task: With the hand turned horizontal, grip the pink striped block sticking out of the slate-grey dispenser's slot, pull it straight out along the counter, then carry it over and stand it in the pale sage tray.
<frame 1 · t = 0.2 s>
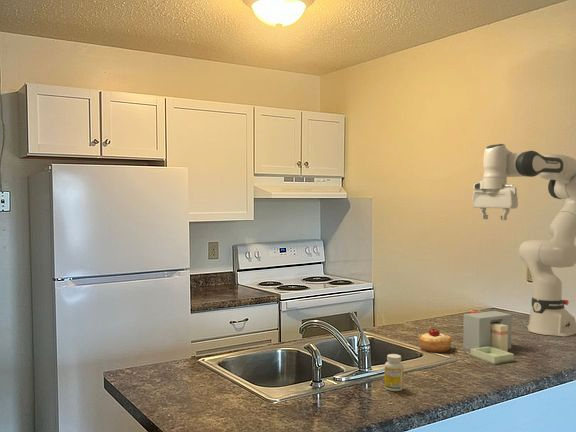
hand: (494, 219, 215), 48 cm above the worktop, tool pointing down, fingers open, 8 cm apart
pink striped block: (497, 351, 198), on the worktop
pill bottle: (475, 338, 218), on the worktop
pastry: (434, 349, 201), on the worktop
supplement bottle: (393, 389, 158), on the worktop
dispenser: (487, 348, 203), on the worktop
tray: (491, 358, 189), on the worktop
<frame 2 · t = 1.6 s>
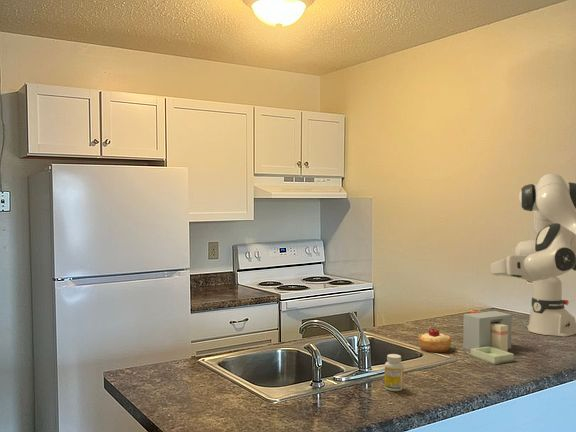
hand: (507, 274, 191), 29 cm above the worktop, tool tilted 75°, fingers open, 8 cm apart
nothing on the worktop moved.
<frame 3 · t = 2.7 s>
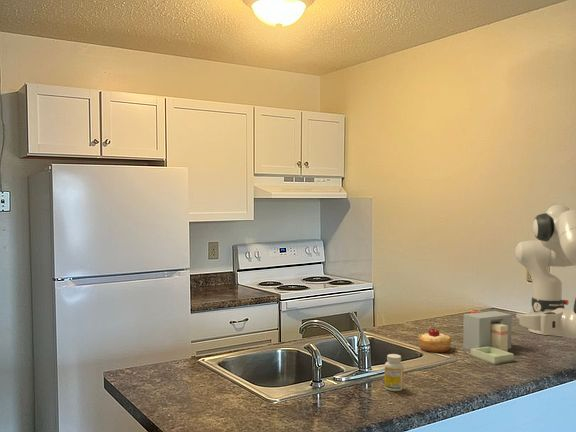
hand: (527, 314, 186), 16 cm above the worktop, tool horizontal, fingers open, 8 cm apart
nothing on the worktop moved.
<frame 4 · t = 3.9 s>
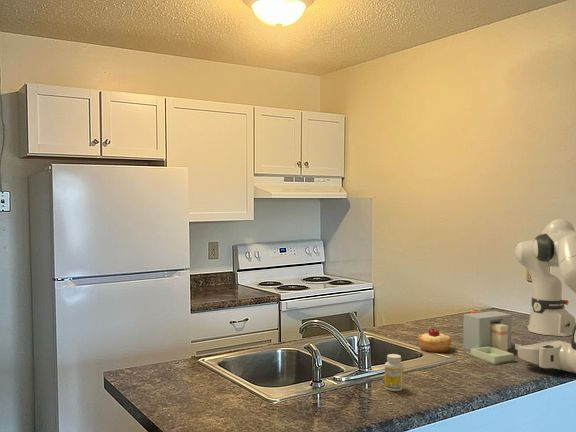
hand: (526, 344, 187), 5 cm above the worktop, tool horizontal, fingers open, 8 cm apart
nothing on the worktop moved.
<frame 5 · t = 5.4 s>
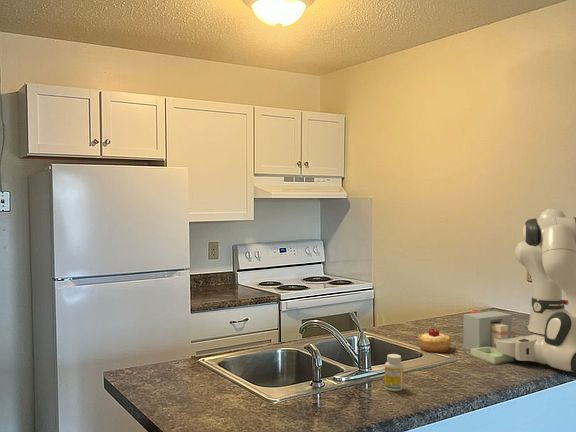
hand: (504, 339, 195), 5 cm above the worktop, tool horizontal, fingers open, 8 cm apart
nothing on the worktop moved.
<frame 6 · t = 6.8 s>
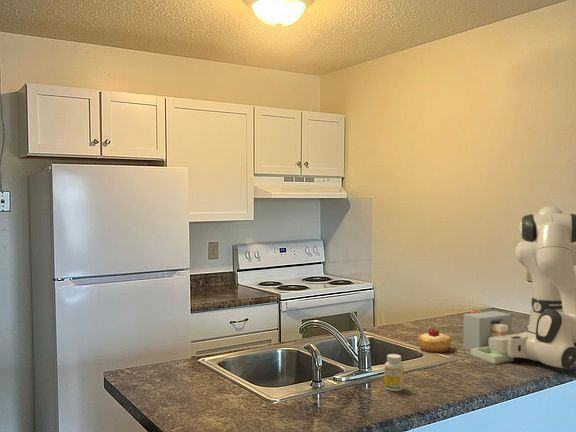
hand: (497, 336, 198), 6 cm above the worktop, tool horizontal, fingers closed on pink striped block, 4 cm apart
pink striped block: (497, 351, 198), on the worktop, touching gripper
everything else where it was.
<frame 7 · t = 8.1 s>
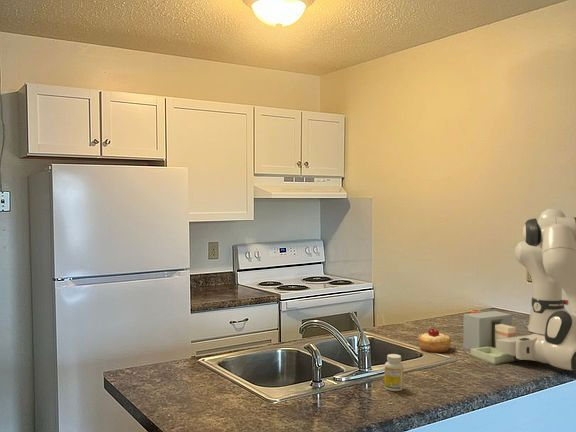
hand: (505, 338, 195), 6 cm above the worktop, tool horizontal, fingers closed on pink striped block, 4 cm apart
pink striped block: (504, 353, 195), on the worktop, touching gripper
everything else where it was.
when the fingers open (7 cm above the worktop, at t = 13.7 s): pink striped block drops 1 cm, resting on tray.
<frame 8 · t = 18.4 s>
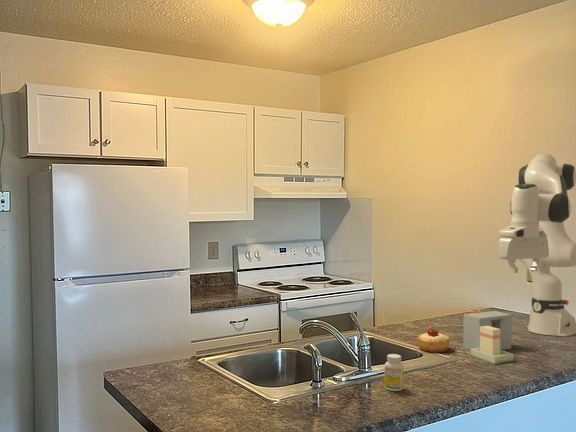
hand: (524, 271, 184), 31 cm above the worktop, tool pointing down, fingers open, 8 cm apart
pink striped block: (489, 356, 190), point 1 cm above the worktop, touching tray
everything else where it was.
at the end: pink striped block inside the target area on the tray (1.0 cm from its centre), point 0.6 cm above the tray's base; the gripper is holding nothing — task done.
